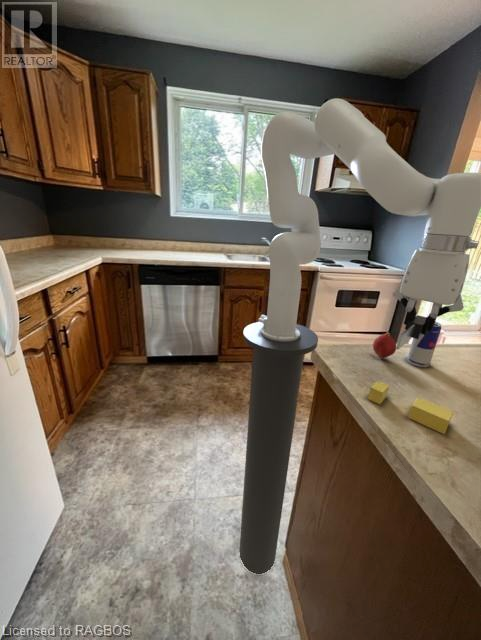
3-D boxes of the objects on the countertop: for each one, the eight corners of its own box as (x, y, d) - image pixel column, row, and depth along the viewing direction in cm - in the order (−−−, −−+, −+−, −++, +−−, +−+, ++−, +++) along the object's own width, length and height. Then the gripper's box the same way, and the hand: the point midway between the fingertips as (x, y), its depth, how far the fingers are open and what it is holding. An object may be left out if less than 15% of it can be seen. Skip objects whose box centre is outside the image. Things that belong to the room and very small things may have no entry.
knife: (389, 346, 52) (394, 331, 51) (413, 327, 63) (417, 315, 62) (404, 351, 51) (409, 336, 50) (426, 331, 61) (430, 318, 60)
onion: (367, 352, 80) (373, 327, 78) (387, 354, 80) (394, 329, 77) (374, 361, 75) (381, 335, 72) (396, 363, 74) (403, 337, 72)
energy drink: (429, 369, 72) (443, 328, 68) (406, 364, 74) (418, 323, 70) (428, 361, 76) (441, 322, 72) (406, 356, 79) (417, 317, 75)
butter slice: (367, 399, 59) (370, 387, 58) (374, 391, 61) (377, 380, 60) (379, 404, 57) (383, 392, 56) (386, 396, 60) (389, 385, 59)
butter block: (408, 417, 53) (412, 405, 52) (413, 409, 56) (417, 396, 55) (444, 434, 50) (449, 421, 48) (448, 424, 52) (453, 411, 51)
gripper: (499, 248, 50) (464, 338, 57) (404, 240, 61) (384, 317, 67) (495, 250, 45) (458, 348, 52) (392, 241, 56) (372, 323, 62)
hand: (416, 330), depth 60 cm, fingers closed on knife, 2 cm apart
